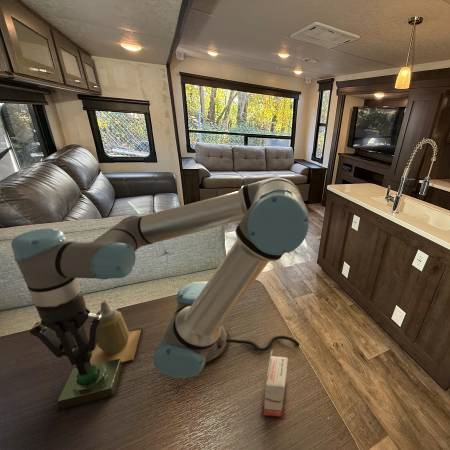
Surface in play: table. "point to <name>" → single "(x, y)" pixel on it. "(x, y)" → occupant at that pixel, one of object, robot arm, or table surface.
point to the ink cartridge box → (275, 386)
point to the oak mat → (124, 354)
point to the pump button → (88, 376)
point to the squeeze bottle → (112, 330)
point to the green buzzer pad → (91, 385)
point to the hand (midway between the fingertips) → (85, 369)
